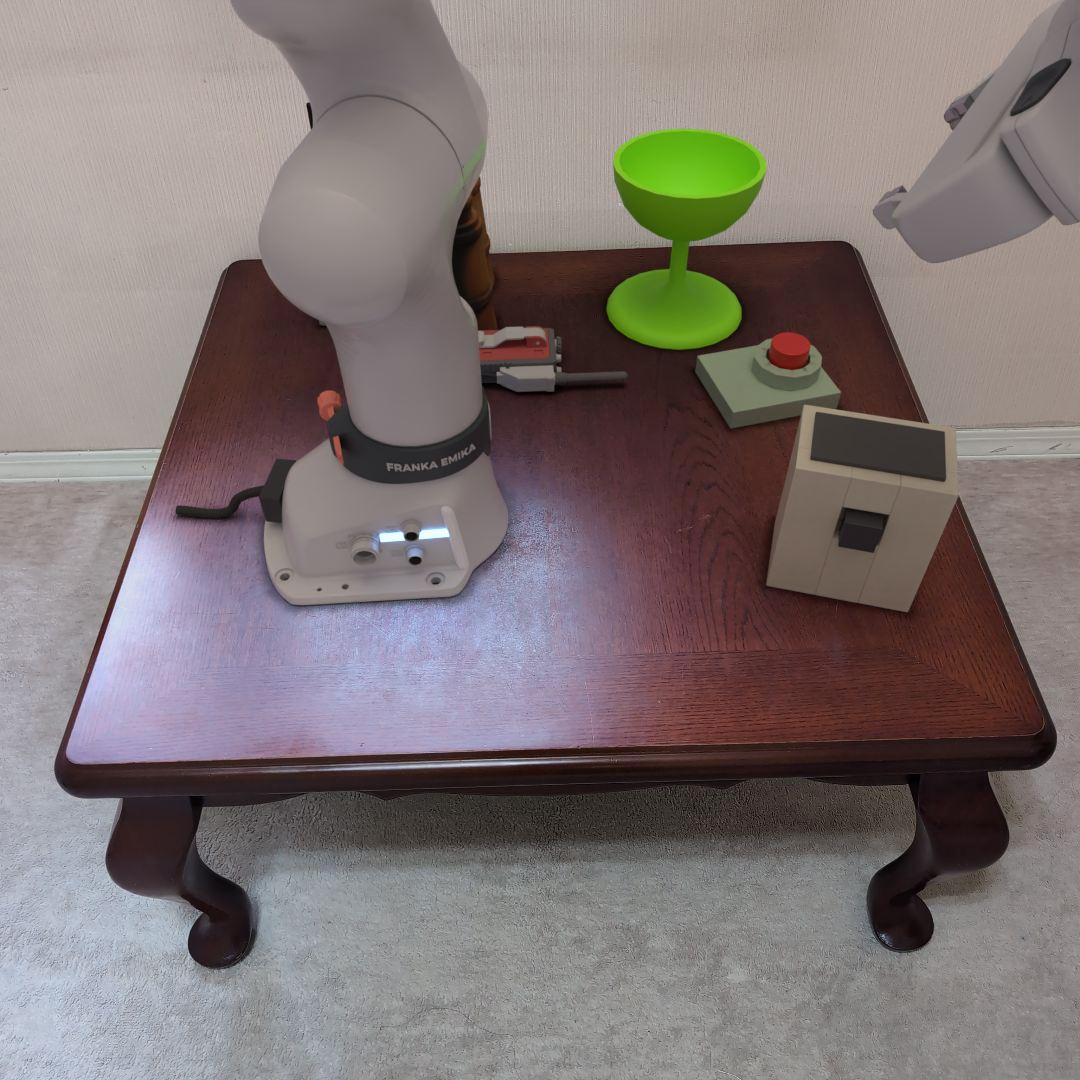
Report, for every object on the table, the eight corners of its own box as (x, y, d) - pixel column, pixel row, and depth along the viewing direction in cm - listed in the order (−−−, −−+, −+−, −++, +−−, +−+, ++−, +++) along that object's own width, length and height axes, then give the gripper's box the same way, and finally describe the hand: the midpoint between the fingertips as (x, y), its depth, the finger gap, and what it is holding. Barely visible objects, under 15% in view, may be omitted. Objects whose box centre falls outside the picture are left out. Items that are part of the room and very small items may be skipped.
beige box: (765, 585, 83) (796, 464, 73) (774, 522, 88) (804, 400, 78) (907, 612, 81) (960, 491, 70) (908, 546, 86) (957, 423, 76)
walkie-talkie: (441, 399, 101) (628, 392, 102) (437, 365, 98) (630, 358, 99) (443, 350, 107) (619, 344, 108) (440, 317, 104) (621, 310, 105)
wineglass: (589, 284, 116) (593, 139, 103) (710, 265, 119) (730, 120, 106) (631, 359, 106) (642, 208, 93) (764, 336, 108) (793, 185, 95)
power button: (837, 546, 76) (845, 522, 74) (839, 529, 77) (846, 504, 75) (873, 553, 75) (882, 529, 73) (874, 535, 77) (883, 511, 75)
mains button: (777, 374, 98) (781, 357, 96) (761, 351, 100) (765, 335, 99) (813, 367, 99) (817, 351, 97) (796, 345, 101) (800, 329, 100)
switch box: (730, 429, 97) (735, 398, 95) (694, 372, 104) (698, 341, 101) (836, 408, 99) (845, 378, 97) (795, 354, 106) (802, 323, 103)
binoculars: (428, 265, 120) (411, 103, 105) (493, 262, 120) (485, 101, 105) (425, 351, 107) (405, 181, 93) (498, 347, 108) (490, 178, 93)
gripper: (1182, -106, 50) (966, 26, 63) (1008, 141, 44) (809, 232, 57) (1237, -7, 52) (1017, 101, 65) (1078, 241, 46) (871, 308, 59)
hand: (919, 164), depth 61 cm, fingers open, 8 cm apart
